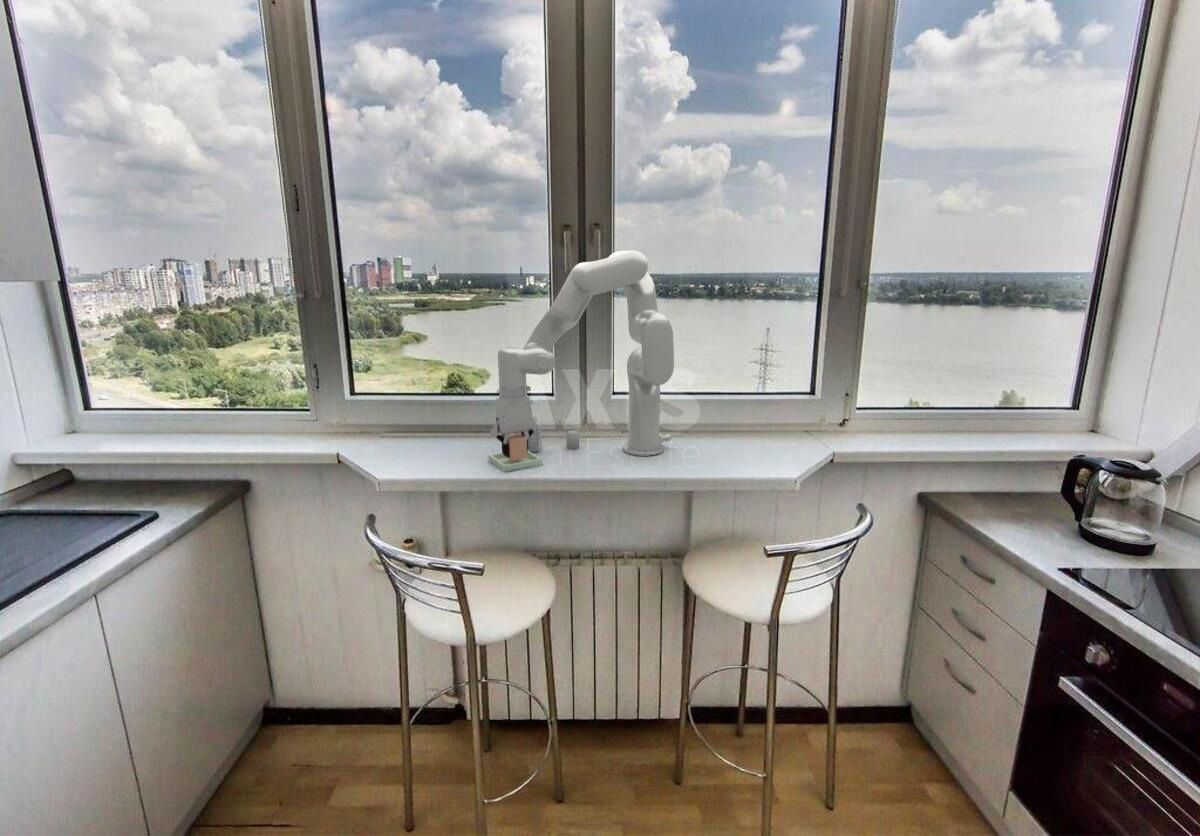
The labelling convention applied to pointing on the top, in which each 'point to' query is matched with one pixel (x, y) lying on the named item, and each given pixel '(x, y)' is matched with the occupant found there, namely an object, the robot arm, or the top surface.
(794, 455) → the top surface
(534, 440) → the medicine box
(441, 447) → the top surface
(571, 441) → the grey tub
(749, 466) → the top surface
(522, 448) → the terracotta block
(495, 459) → the tray
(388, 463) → the top surface
